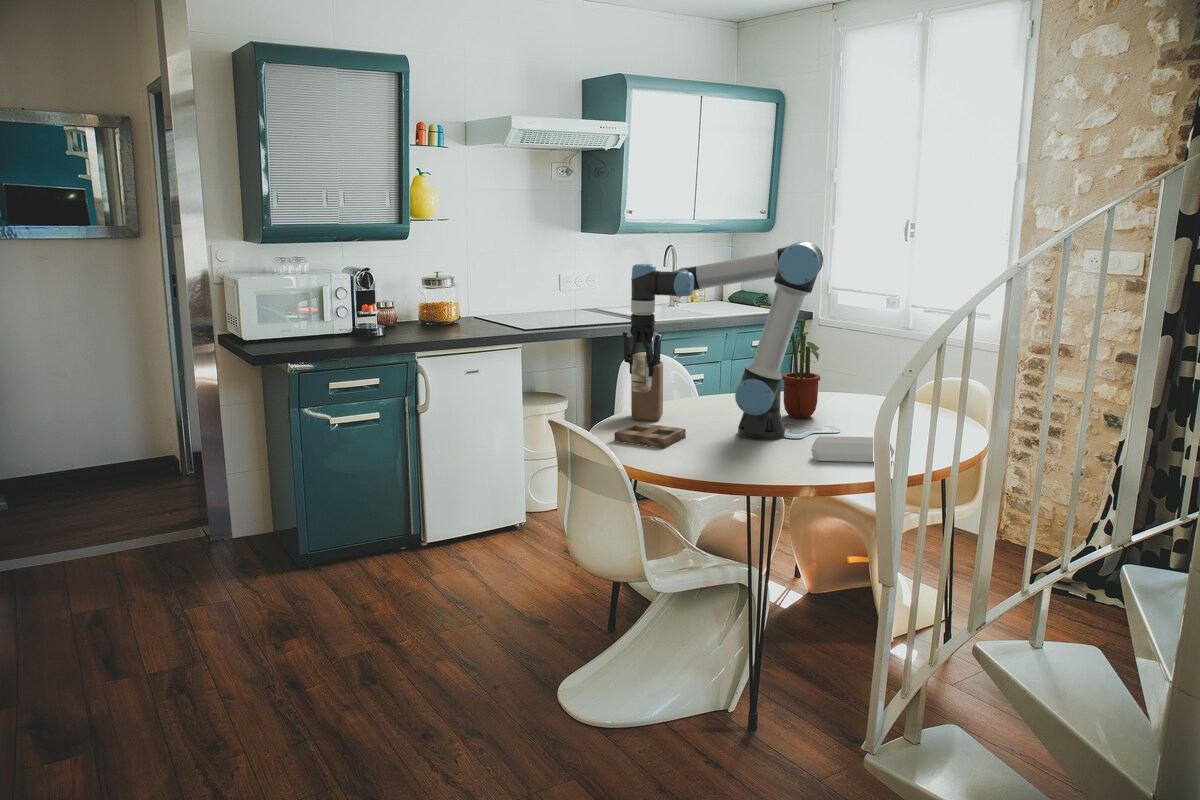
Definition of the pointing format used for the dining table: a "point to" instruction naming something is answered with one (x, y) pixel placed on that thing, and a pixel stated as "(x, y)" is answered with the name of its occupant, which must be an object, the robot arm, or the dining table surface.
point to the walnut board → (650, 435)
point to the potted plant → (801, 381)
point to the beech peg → (640, 373)
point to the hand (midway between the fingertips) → (641, 385)
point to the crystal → (844, 449)
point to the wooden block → (649, 398)
